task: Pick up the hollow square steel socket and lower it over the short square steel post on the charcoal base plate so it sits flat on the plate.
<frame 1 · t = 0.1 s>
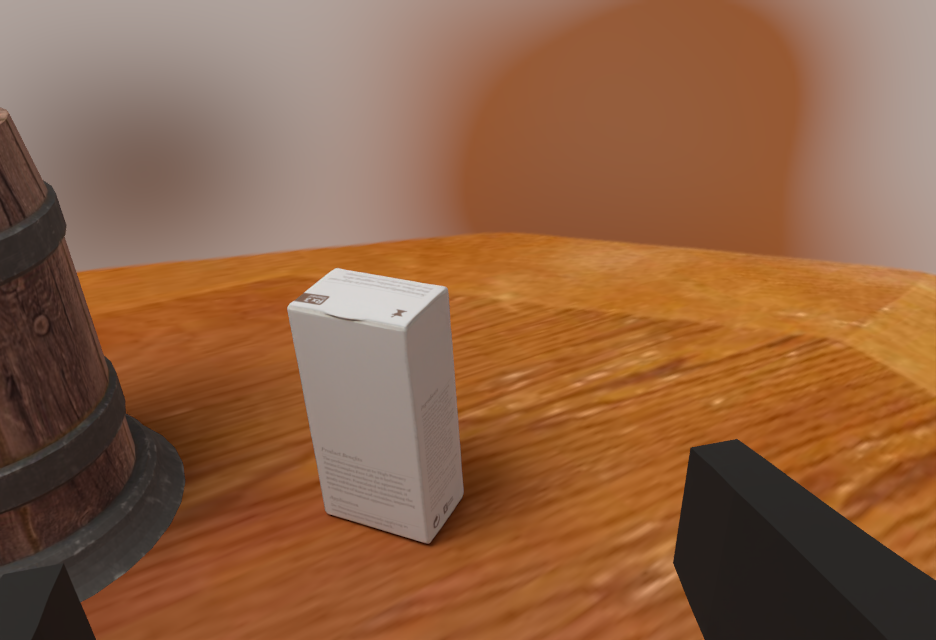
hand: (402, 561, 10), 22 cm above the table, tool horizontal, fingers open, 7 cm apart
skincare box: (392, 509, 43), on the table
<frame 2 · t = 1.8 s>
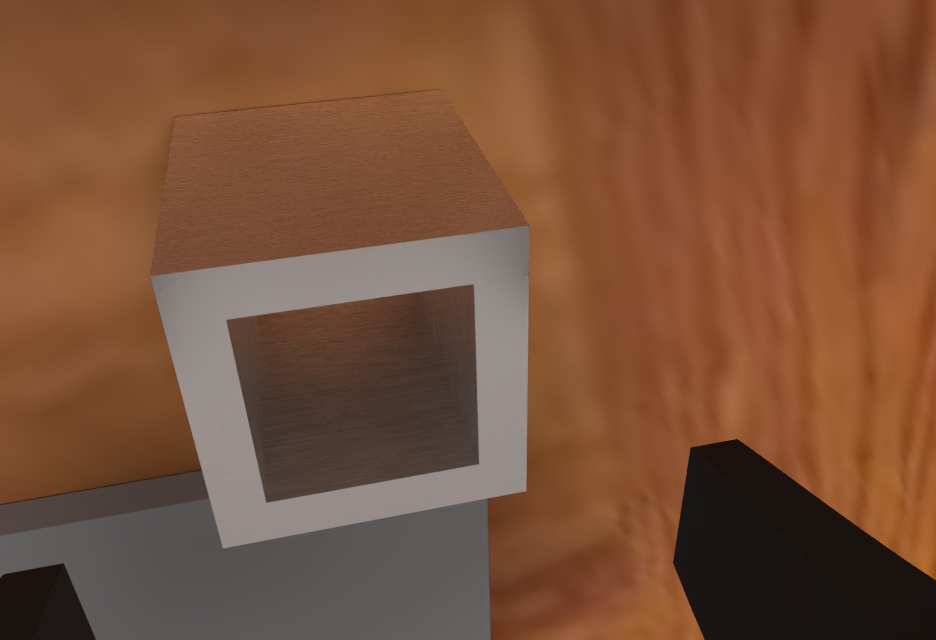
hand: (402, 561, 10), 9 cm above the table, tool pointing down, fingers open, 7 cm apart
square socket: (327, 221, 18), on the table
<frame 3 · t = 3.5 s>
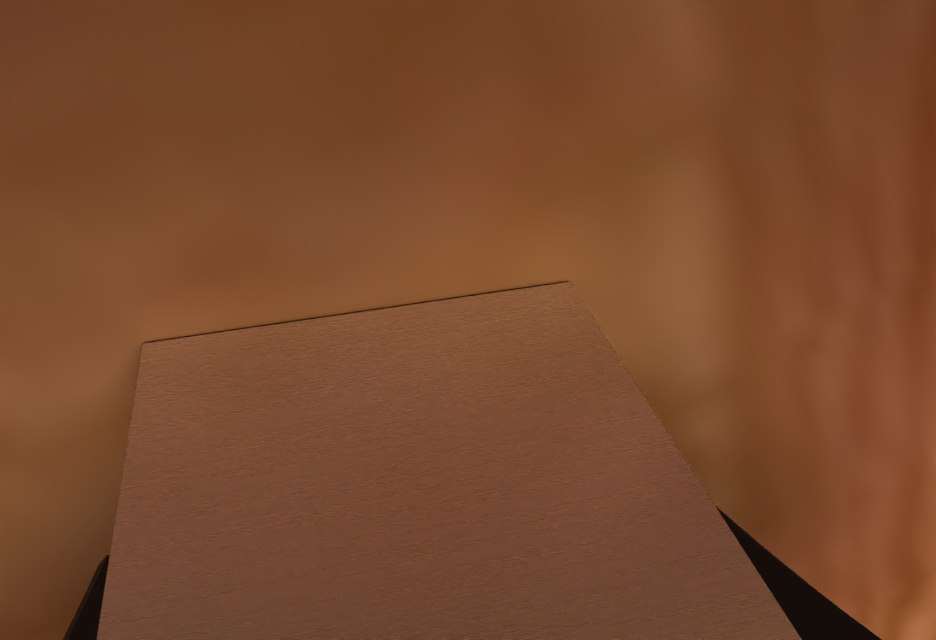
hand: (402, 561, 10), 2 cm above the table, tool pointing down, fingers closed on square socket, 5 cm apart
square socket: (383, 469, 11), on the table, touching gripper
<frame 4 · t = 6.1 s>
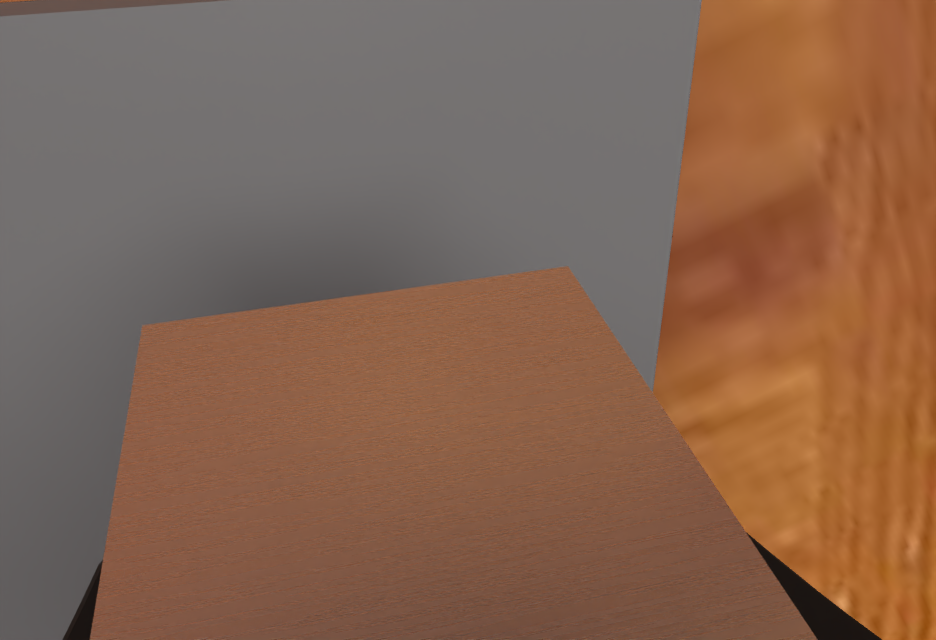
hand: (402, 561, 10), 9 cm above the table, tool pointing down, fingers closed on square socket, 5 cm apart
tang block: (274, 396, 20), on the table
square socket: (381, 454, 11), point 8 cm above the table, touching gripper
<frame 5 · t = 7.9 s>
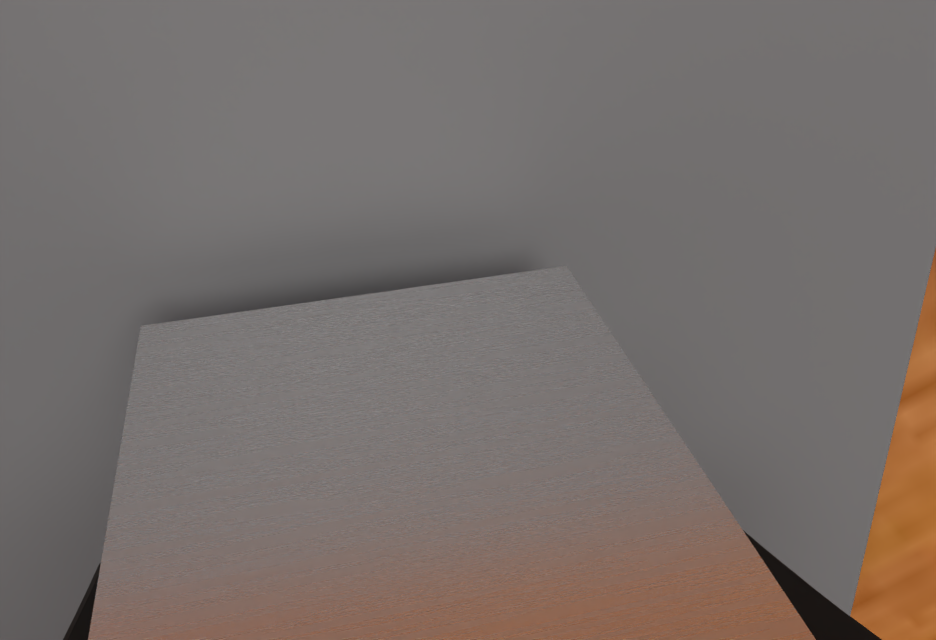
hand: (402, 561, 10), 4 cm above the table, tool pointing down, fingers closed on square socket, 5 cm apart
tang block: (360, 368, 13), on the table
square socket: (380, 455, 11), point 2 cm above the table, touching gripper
when the fingers open (3 cm above the table, at t = 9.1 s): square socket stays where it is, resting on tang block.
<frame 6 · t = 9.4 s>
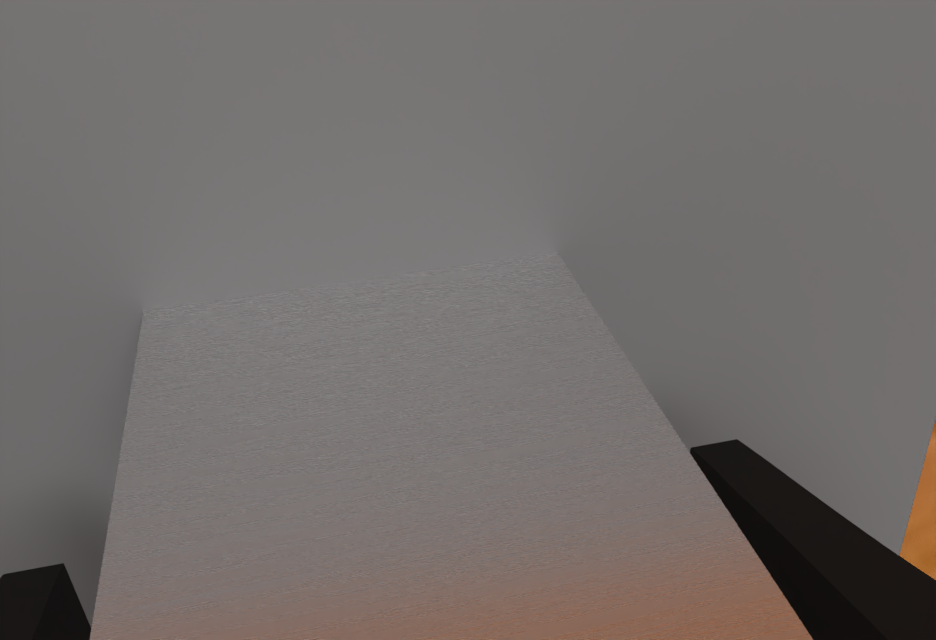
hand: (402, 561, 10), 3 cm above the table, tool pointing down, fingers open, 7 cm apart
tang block: (368, 401, 13), on the table
square socket: (377, 437, 12), point 1 cm above the table, touching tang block
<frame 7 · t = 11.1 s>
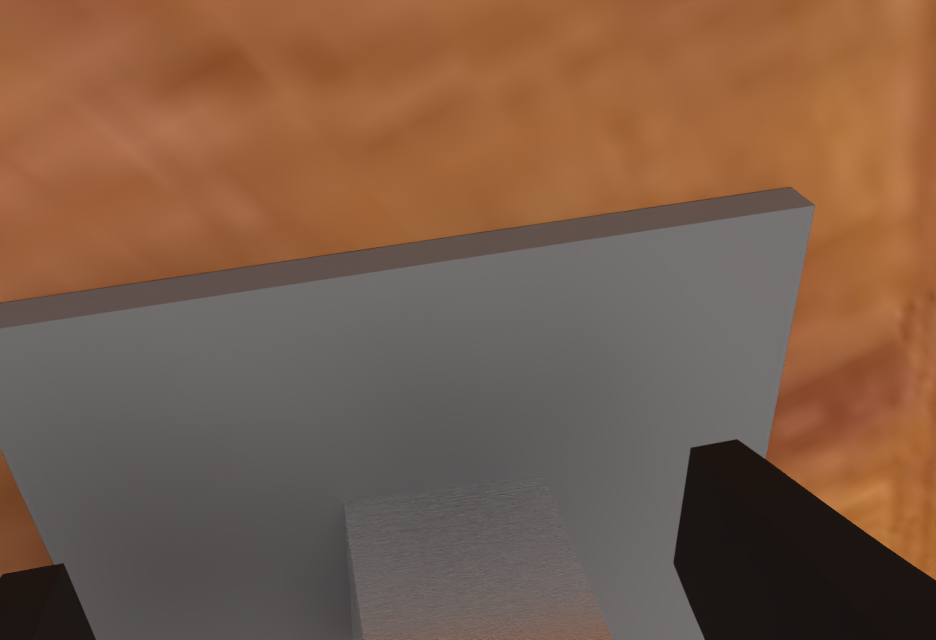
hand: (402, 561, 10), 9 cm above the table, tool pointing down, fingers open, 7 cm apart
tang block: (436, 533, 23), on the table
square socket: (443, 558, 23), point 1 cm above the table, touching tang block
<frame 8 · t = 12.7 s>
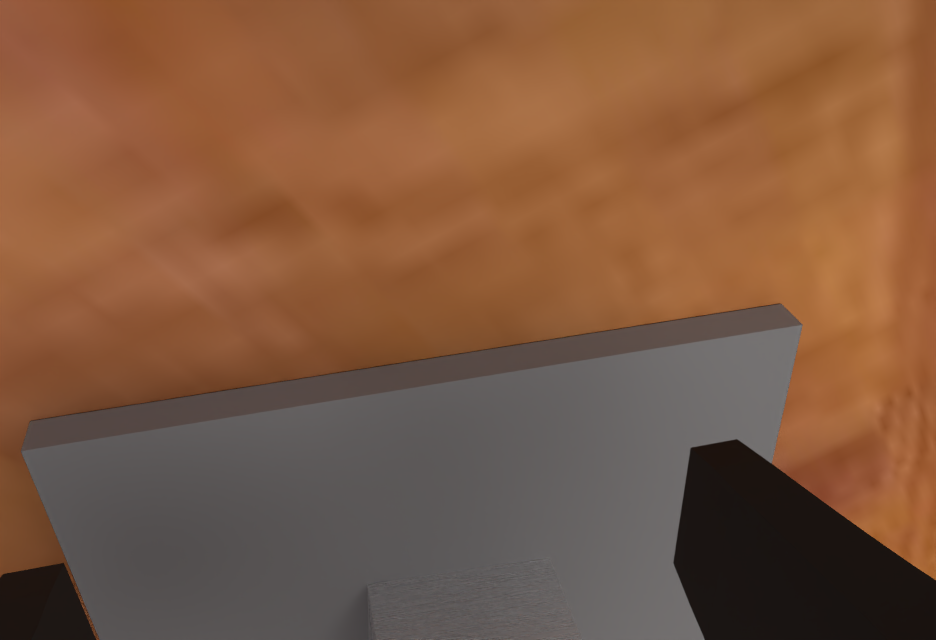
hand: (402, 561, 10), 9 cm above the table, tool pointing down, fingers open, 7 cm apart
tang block: (449, 606, 25), on the table
square socket: (456, 631, 24), point 1 cm above the table, touching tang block
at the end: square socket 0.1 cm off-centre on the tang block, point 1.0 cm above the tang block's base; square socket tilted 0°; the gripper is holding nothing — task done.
